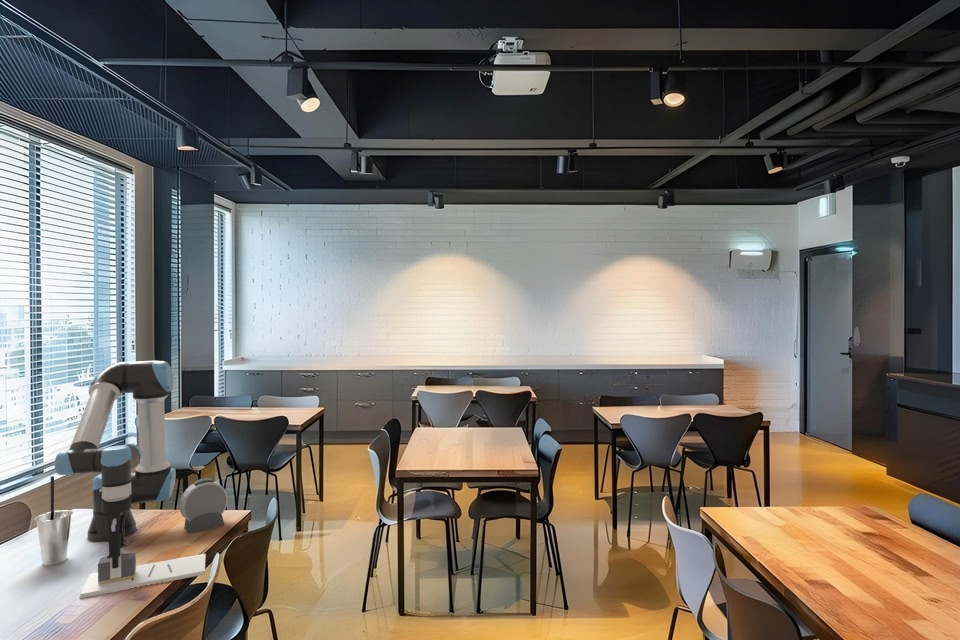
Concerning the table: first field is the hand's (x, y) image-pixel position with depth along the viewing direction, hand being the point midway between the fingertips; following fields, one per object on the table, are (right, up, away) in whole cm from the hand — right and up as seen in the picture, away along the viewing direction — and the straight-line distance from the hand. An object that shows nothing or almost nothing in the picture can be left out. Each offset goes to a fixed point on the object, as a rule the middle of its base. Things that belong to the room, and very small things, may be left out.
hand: (117, 573), depth 166 cm
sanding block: (0, -1, 0) cm, 1 cm away
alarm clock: (+4, -3, +44) cm, 44 cm away
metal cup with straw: (-30, -3, +14) cm, 34 cm away
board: (+7, -2, +3) cm, 8 cm away
